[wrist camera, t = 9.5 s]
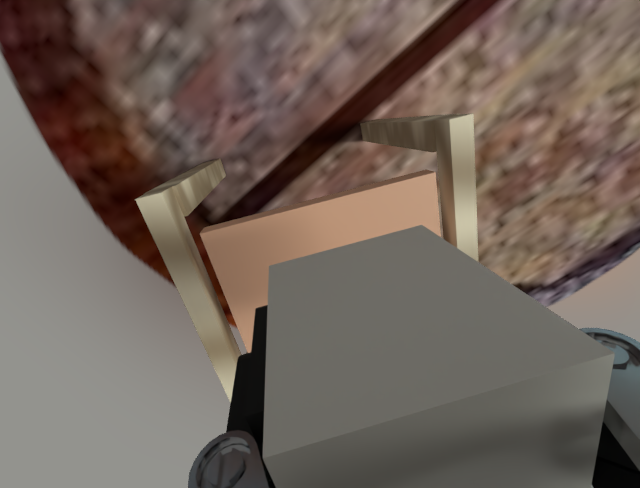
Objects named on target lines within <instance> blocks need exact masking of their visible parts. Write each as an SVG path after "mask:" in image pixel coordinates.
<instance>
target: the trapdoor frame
mask: <svg viewBox="0 0 640 488" xmlns="http://www.w3.org/2000/svg"><path fill="white" fill-rule="evenodd" d="M360 126H361V132H362V138H363V141H366V142H372V143H378V144H385V145H391V146H397V147H403V148H409V149H416V150H422V151H428V152H436V151H437V162H438V175H439V187H440V200H441V212H442V225H443V237H444V240H446V241H447V242H449V243H450V244H452V245H453V246H455V247H456V248H458V249H459V250H461V251H462V252H464V253H465V254H467V255H468V256H470V257H471V258H473V259H474V260H476V261H477V262H478V238H477V209H476V179H475V150H474V121H473V114H449V115H434V116H420V117H405V118H390V119H376V120H372V121H368V122H364V123H360ZM225 176H226V174H225V171H224V168H223V165H222V162H221V159H217V160H213V161H209V162H205V163H202V164H200V165H198V166H196V167H194V168H192V169H190V170H188V171H187V172H185V173H183V174H181V175H179V176H177V177H175V178H173V179H171V180H169V181H167V182H165V183H163V184H161V185H160V186H158V187H156V188H154V189H152V190H150V191H148V192H146V193H144V195H142V196H140V197H139V198H137V199H135V200H136V202H137V205H138V207H139V209H140V211H141V213H142V215H143V217H144V219H145V222H146V224H147V226H148V228H149V230H150V232H151V234H152V237H153V239H154V241H155V243H156V245H157V247H158V249H159V251H160V254H161V256H162V258H163V260H164V262H165V264H166V266H167V268H168V271H169V273H170V275H171V277H172V279H173V281H174V283H175V285H176V288H177V290H178V292H179V294H180V296H181V298H182V300H183V302H184V305H185V307H186V309H187V311H188V313H189V315H190V317H191V319H192V322H193V324H194V326H195V328H196V330H197V332H198V334H199V337H200V339H201V341H202V343H203V345H204V347H205V349H206V351H207V354H208V356H209V358H210V360H211V362H212V364H213V366H214V368H215V370H216V373H217V375H218V377H219V379H220V381H221V383H222V385H223V387H224V390H225V392H226V394H227V396H228V398H229V400H230V402H231V398H232V392H233V385H234V379H235V372H236V366H237V360H238V357H239V356H240V355H241V352H240V350H239V348H238V345H237V343H236V340H235V338H234V336H233V333H232V331H231V328H230V326H229V324H228V321H227V319H226V316H225V314H224V312H223V309H222V307H221V304H220V302H219V300H218V297H217V295H216V292H215V290H214V288H213V285H212V283H211V280H210V278H209V276H208V273H207V271H206V268H205V266H204V264H203V261H202V259H201V256H200V254H199V252H198V249H197V247H196V244H195V242H194V240H193V237H192V235H191V232H190V230H189V228H188V225H187V223H186V220H185V218H184V217H185V216H188V215H189V214H190V213H191V212H192V211H193V210H194V209H195V208H196V207H197V206H198V205H199V203H200V202H201V201H202V200H203V199H204V198H205V197H206V196H207V195H208V194H209V193H210V192H211V191H212V190H213V189H214V188H215V187H216V186H217V185H218V184H219V183H220V182H221V181H222V180H223V178H224V177H225ZM247 353H248V352H247Z"/></svg>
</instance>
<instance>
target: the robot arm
mask: <svg viewBox="0 0 640 488" xmlns="http://www.w3.org/2000/svg"><path fill="white" fill-rule="evenodd" d="M267 309H268V305H265V306H262V307H258V308H256V309H255V318H254V329H253V339H252V349H251V352H250V353H247V354H244V355H240V356H239V357H238V360H237V366H236V372H235V379H234V385H233V392H232V398H231V405H230V412H229V418H228V424H227V431H226V433H224V434H222V435H219V436H218V437H216V438H215V439H213V440H212V441H211V442H209V443H208V444H207V445H206V446H205V447H204V448H203V450H201V452H200V453H199V455H198V456H197V458H196V459H195V461H194V463H193V466H192V468H191V470H190V473H189V481H188V488H276V487H275V484H274V482H273V480H272V478H271V476H270V474H269V471H268V469H267V467H266V465H265V463H264V460H263V430H264V400H265V369H266V339H267ZM579 330H581V331H582V332H584V333H585V334H587V335H589V336H590V337H592V338H593V339H595V340H596V341H598V342H599V343H601V344H602V345H604V346H605V347H607V348H608V349H610V350H611V351H613V352H614V353H615V356H614V362H613V367H612V373H611V378H610V384H609V390H608V395H607V401H606V406H605V412H604V417H603V423H602V428H601V434H600V439H599V445H598V450H597V456H596V462H595V467H594V473H593V478H592V484H591V488H640V343H639V342H638V341H636V340H634V339H632V338H630V337H628V336H625V335H623V334H621V333H617V332H614V331H611V330H606V329H600V328H582V329H579Z"/></svg>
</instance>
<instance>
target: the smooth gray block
mask: <svg viewBox="0 0 640 488" xmlns="http://www.w3.org/2000/svg"><path fill="white" fill-rule="evenodd" d="M614 356H615V353H614V352H613V351H611V350H610V349H608V348H607V347H605V346H604V345H602V344H601V343H599V342H598V341H596V340H595V339H593V338H592V337H590V336H589V335H587V334H585V333H584V332H582V331H581V330H579V329H578V328H576V327H575V326H573V325H572V324H570V323H569V322H567V321H566V320H564V319H563V318H561V317H560V316H558V315H557V314H555V313H554V312H552V311H551V310H549V309H548V308H546V307H545V306H543V305H542V304H540V303H539V302H537V301H536V300H534V299H533V298H531V297H530V296H528V295H527V294H525V293H524V292H522V291H521V290H519V289H518V288H516V287H515V286H513V285H512V284H510V283H509V282H507V281H506V280H504V279H503V278H501V277H500V276H498V275H497V274H495V273H494V272H492V271H491V270H489V269H488V268H486V267H485V266H483V265H482V264H480V263H479V262H477V261H476V260H474V259H473V258H471V257H470V256H468V255H467V254H465V253H464V252H462V251H461V250H459V249H458V248H456V247H455V246H453V245H452V244H450V243H449V242H447V241H446V240H444V239H443V238H441V237H440V236H438V235H437V234H435V233H434V232H432V231H431V230H429V229H428V228H426V227H425V226H423V225H419V226H415V227H411V228H408V229H404V230H400V231H396V232H393V233H389V234H385V235H382V236H378V237H374V238H370V239H367V240H363V241H359V242H356V243H352V244H348V245H344V246H341V247H337V248H333V249H330V250H326V251H322V252H318V253H315V254H311V255H307V256H304V257H300V258H296V259H292V260H289V261H285V262H281V263H278V264H274V265H270V266H269V279H268V309H267V339H266V369H265V400H264V430H263V460H264V463H265V465H266V467H267V469H268V471H269V474H270V476H271V478H272V480H273V482H274V484H275V487H276V488H591V484H592V478H593V473H594V467H595V462H596V456H597V450H598V445H599V439H600V434H601V428H602V423H603V417H604V412H605V406H606V401H607V395H608V390H609V384H610V378H611V373H612V367H613V362H614Z"/></svg>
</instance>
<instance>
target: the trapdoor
mask: <svg viewBox="0 0 640 488" xmlns="http://www.w3.org/2000/svg"><path fill="white" fill-rule="evenodd" d="M419 225H423V226H425V227H426V228H428V229H429V230H431V231H432V232H434V233H435V234H437V235H438V236H440V237H441V233H440V221H439V209H438V197H437V185H436V173H435V172H433V171H429V170H423V171H419V172H415V173H411V174H408V175H404V176H400V177H396V178H392V179H388V180H385V181H381V182H377V183H373V184H369V185H365V186H362V187H358V188H354V189H350V190H346V191H342V192H339V193H335V194H331V195H327V196H323V197H319V198H316V199H312V200H308V201H304V202H300V203H296V204H293V205H289V206H285V207H281V208H277V209H273V210H270V211H266V212H262V213H258V214H254V215H250V216H247V217H243V218H239V219H235V220H231V221H227V222H224V223H220V224H216V225H212V226H208V227H204V228H203V230H202V231H201V233H200V236H201V238H202V241H203V243H204V246H205V248H206V251H207V253H208V256H209V258H210V261H211V263H212V265H213V268H214V270H215V273H216V275H217V278H218V280H219V283H220V285H221V288H222V290H223V293H224V295H225V298H226V300H227V303H228V305H229V307H230V310H231V312H232V315H233V317H234V320H235V322H236V325H237V327H238V330H239V332H240V335H241V337H242V339H243V342H244V344H245V347H246V349H247V352H248V353H250V352H251V349H252V339H253V329H254V318H255V309H256V308H258V307H262V306H265V305H268V279H269V266H270V265H274V264H278V263H281V262H285V261H289V260H292V259H296V258H300V257H304V256H307V255H311V254H315V253H318V252H322V251H326V250H330V249H333V248H337V247H341V246H344V245H348V244H352V243H356V242H359V241H363V240H367V239H370V238H374V237H378V236H382V235H385V234H389V233H393V232H396V231H400V230H404V229H408V228H411V227H415V226H419Z"/></svg>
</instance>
